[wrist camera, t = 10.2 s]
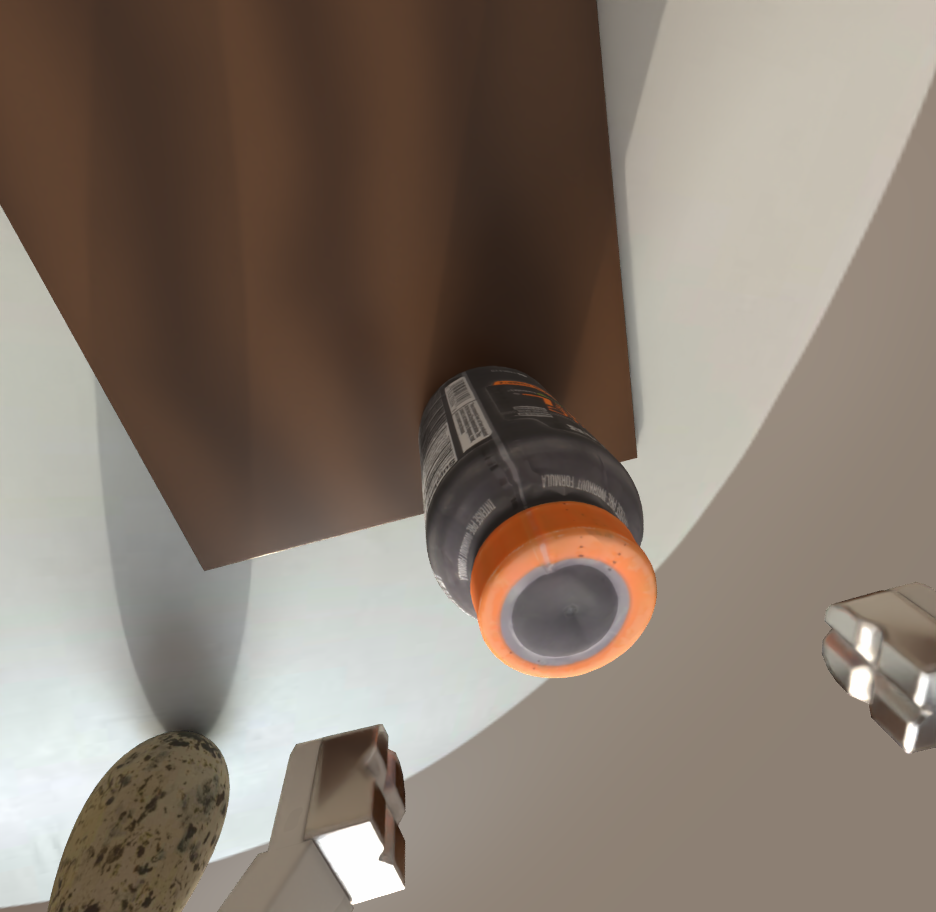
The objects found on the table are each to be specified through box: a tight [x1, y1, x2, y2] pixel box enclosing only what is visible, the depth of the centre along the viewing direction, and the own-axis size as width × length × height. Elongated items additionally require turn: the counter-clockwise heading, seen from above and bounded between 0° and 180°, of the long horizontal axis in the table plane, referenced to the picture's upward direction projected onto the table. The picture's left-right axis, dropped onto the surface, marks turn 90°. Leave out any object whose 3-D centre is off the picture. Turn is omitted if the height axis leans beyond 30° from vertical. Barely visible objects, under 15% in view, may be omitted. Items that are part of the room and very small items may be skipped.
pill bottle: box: [419, 366, 657, 678], centre depth 16 cm, size 6×6×11 cm
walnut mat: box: [0, 0, 637, 571], centre depth 17 cm, size 20×23×1 cm
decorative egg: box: [47, 731, 230, 912], centre depth 21 cm, size 6×6×10 cm
